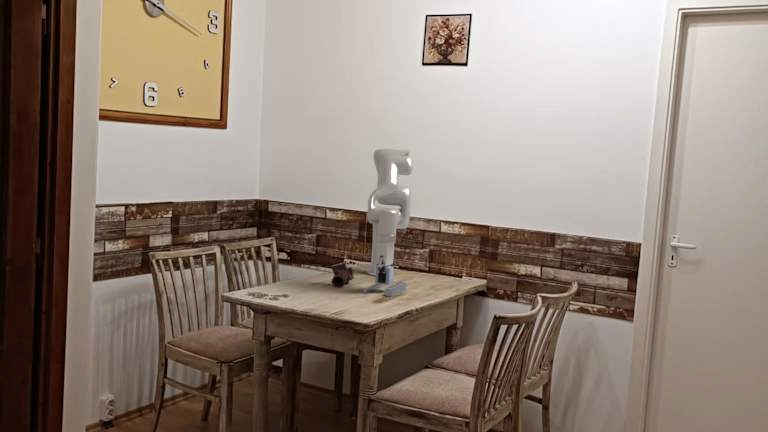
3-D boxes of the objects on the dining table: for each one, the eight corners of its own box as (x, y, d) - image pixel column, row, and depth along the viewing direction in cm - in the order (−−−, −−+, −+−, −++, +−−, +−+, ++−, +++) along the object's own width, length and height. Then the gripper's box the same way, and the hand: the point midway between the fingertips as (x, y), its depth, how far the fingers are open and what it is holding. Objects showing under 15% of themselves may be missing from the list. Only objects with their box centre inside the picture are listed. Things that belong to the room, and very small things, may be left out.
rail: (363, 293, 319) (363, 284, 318) (378, 286, 336) (378, 277, 335) (392, 296, 315) (392, 288, 314) (405, 289, 332) (406, 281, 331)
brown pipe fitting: (356, 275, 343) (348, 255, 340) (348, 290, 326) (340, 269, 324) (343, 279, 344) (335, 259, 342) (335, 294, 328) (327, 273, 326)
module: (375, 283, 324) (376, 266, 323) (379, 281, 328) (380, 264, 328) (388, 285, 322) (389, 268, 321) (392, 283, 326) (393, 266, 326)
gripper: (385, 236, 332) (382, 277, 334) (371, 239, 316) (368, 283, 318) (401, 237, 330) (398, 279, 332) (388, 241, 314) (385, 285, 316)
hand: (383, 281), depth 325 cm, fingers closed on module, 5 cm apart
